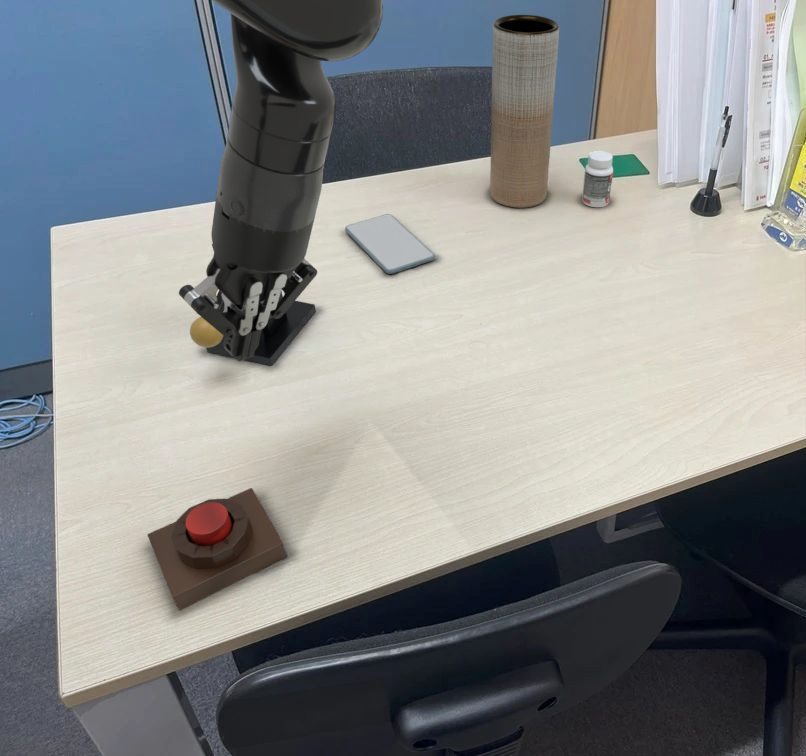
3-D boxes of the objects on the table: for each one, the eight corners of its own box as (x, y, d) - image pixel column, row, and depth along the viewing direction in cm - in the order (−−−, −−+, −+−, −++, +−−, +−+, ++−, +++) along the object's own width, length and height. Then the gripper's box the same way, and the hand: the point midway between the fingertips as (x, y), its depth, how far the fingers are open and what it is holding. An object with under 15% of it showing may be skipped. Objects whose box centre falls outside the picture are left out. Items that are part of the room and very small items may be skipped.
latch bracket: (271, 366, 87) (248, 271, 78) (207, 352, 89) (176, 258, 79) (316, 311, 96) (299, 220, 87) (256, 299, 97) (234, 209, 88)
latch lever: (222, 355, 81) (207, 341, 78) (194, 349, 81) (178, 335, 78) (267, 252, 86) (255, 235, 83) (241, 248, 87) (228, 231, 83)
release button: (197, 552, 62) (192, 540, 61) (185, 525, 65) (179, 513, 63) (237, 533, 64) (233, 522, 63) (224, 507, 66) (219, 495, 65)
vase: (547, 184, 126) (560, 16, 108) (545, 210, 119) (558, 35, 101) (493, 180, 127) (496, 12, 108) (487, 206, 119) (489, 31, 101)
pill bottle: (611, 207, 120) (618, 161, 115) (584, 208, 120) (590, 161, 114) (605, 194, 124) (611, 149, 118) (579, 195, 124) (584, 149, 118)
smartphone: (387, 271, 102) (343, 225, 111) (388, 277, 103) (343, 231, 112) (437, 255, 106) (390, 212, 115) (437, 260, 106) (390, 217, 115)
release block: (179, 611, 62) (166, 586, 59) (154, 547, 67) (140, 522, 64) (287, 556, 67) (279, 531, 64) (256, 501, 71) (247, 475, 69)
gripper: (304, 161, 61) (272, 309, 72) (161, 184, 52) (149, 351, 63) (361, 211, 59) (319, 355, 70) (223, 244, 50) (200, 405, 61)
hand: (239, 353), depth 66 cm, fingers closed
